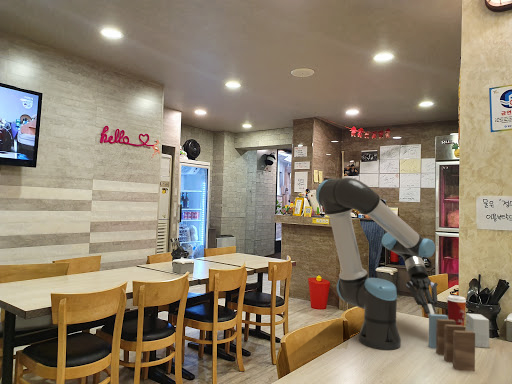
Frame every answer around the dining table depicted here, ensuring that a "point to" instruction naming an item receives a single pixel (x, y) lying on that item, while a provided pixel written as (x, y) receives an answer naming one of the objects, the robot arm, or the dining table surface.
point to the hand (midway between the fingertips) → (433, 320)
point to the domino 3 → (464, 350)
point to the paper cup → (456, 309)
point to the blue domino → (434, 328)
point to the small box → (478, 329)
